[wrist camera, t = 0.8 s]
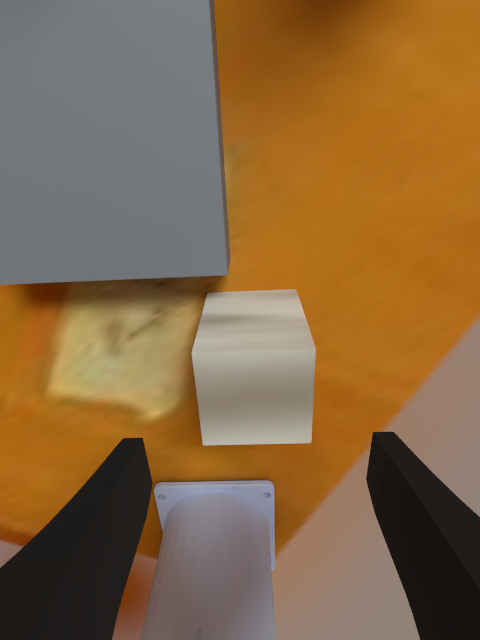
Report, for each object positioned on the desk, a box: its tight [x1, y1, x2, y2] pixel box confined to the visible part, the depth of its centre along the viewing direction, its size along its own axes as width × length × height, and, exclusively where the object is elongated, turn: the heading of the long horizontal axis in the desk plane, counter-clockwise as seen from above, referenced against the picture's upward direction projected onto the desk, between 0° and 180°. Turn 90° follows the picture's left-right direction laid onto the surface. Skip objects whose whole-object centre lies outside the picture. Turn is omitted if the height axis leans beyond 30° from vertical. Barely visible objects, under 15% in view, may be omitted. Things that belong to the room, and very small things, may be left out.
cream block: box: [192, 289, 316, 445], centre depth 17 cm, size 4×4×6 cm
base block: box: [0, 0, 230, 285], centre depth 15 cm, size 10×10×3 cm
